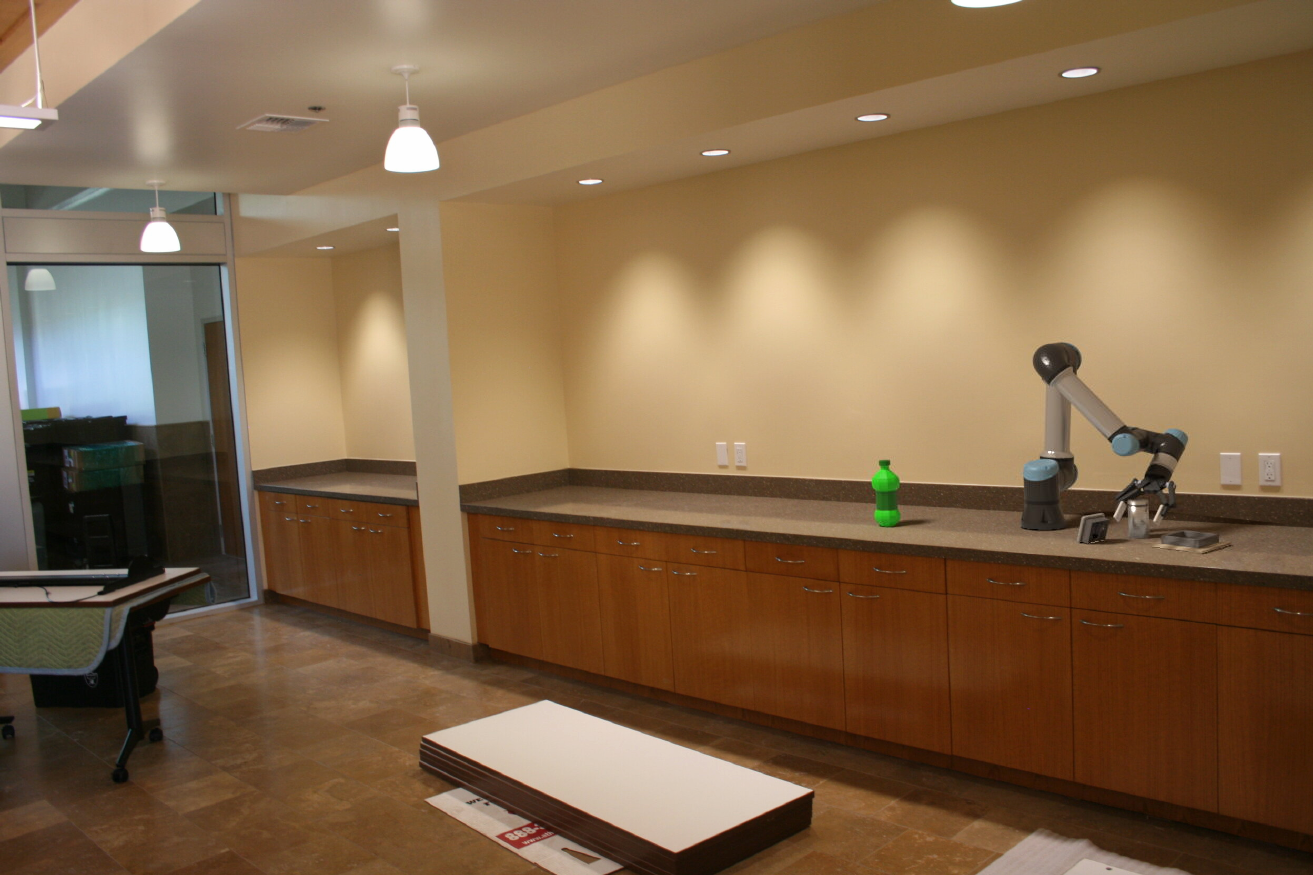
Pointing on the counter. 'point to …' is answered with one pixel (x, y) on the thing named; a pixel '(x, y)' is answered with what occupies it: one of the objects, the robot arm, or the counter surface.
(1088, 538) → the electrical switch
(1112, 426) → the robot arm
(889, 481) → the plastic bottle
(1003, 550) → the counter surface
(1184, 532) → the collar plate
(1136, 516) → the steel piston
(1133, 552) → the counter surface
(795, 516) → the counter surface
